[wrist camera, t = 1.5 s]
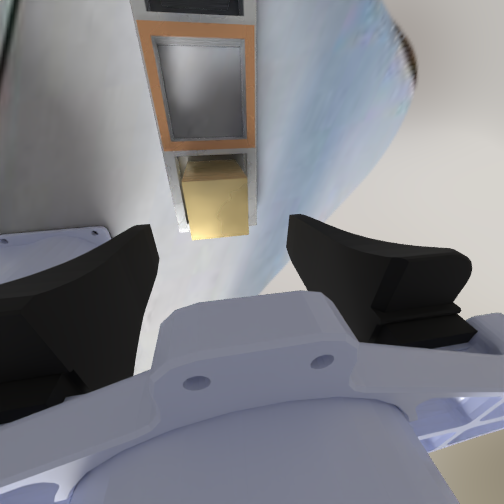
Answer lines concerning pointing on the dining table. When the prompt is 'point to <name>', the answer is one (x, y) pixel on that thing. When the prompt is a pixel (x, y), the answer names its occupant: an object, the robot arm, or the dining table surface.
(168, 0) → the gunmetal nut block
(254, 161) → the zinc tray
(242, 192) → the golden block
